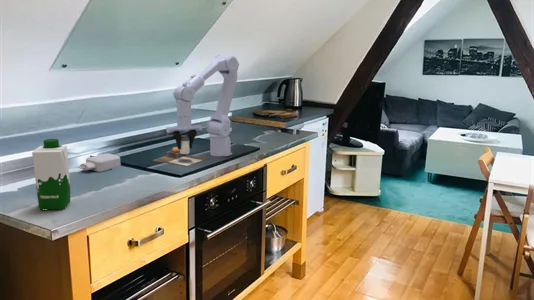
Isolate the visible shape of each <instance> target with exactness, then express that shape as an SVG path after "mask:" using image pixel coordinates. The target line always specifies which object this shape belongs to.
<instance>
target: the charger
mask: <svg viewBox="0 0 534 300" xmlns="http://www.w3.org/2000/svg"><path fill="white" fill-rule="evenodd" d="M121 164H122V163H121V157H120V156H119V155H116V154H114V153H113V154H112V153H109V152H108V153H102V154H97V155H94V156H89V157H87V158H86V159H85V162H84V163H81V164H80V165H79V166H77V169H79V168H80V169H81V170H84V171H90V170H92V171H95V172H99V173H102V172H106V171H110V170H112V169H113V168H116V167H120V166H121Z"/></svg>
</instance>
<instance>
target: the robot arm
mask: <svg viewBox="0 0 534 300" xmlns="http://www.w3.org/2000/svg"><path fill="white" fill-rule="evenodd" d="M239 66H240V63H239V61H238V59H237V57H235V55H220V54H217V55H216V56H215V57H214V58H212V59H211V62H210V63H209V64H208V65H207V66H206V67H205V68H203V70H202V71H200V72H199V74H196V73H194V74H191V75H190V78H188V80H187V81H184V82H182V85H179V86H177V87H175V89H174V91H173V93H172V95H173V97H174V99H175V103H176V125H174V126H167V127H165V130H166V132H165V133H167V134H168V133H169V134H170V133H171V134H172V135H173V138H174V140H175V142H176V143H175V144H176V147H178V149H181V136H182V134H181V133H180V132H187V135H188V136H190V140H189V141H190V149H192V148H193V143H194V140H195V138H196V136H197V133H198V131H202V130H203V125H201V124H197V125H196V124H192V100H193V99H194V98H195V97H194V96H195V94H196V93H197V92H198V91H200V90H201V88H203V86H204V85H205V81H206V80H208V79H209V78H210V77H212V76H213V75H214V74H215V73H217V72H218V73H219V74H221V76H222V78H223V81H222V86H221V90H220V93H219V97H218V102H217V106H216V110H215V113H214V114H213V115H211V116H210V119H209V121H208V122H207V125H206V131H207V133H208V135H209V136H210V138H209V140H210V141H209V143H210V144H209V146H210V147H209V149H210V152H209V154H210V156H213V157H228V156H229V157H230V156H232V155H233V153H232V151H231V150H232V149H231V148H232V147H231V146H232V145H231V144H232V143H231V138H230V136H229V135H230V132H231V122H232V121H231V119H230V118H229V112H230V109H231V104H232V100H233V96H234V93H235V89H236V84H237V81H238V70H239Z"/></svg>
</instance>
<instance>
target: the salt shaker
mask: <svg viewBox="0 0 534 300" xmlns="http://www.w3.org/2000/svg"><path fill="white" fill-rule="evenodd" d="M189 140H190V136H188V134H187V135H186V134H185V135H183V134H181V149H180V154H186V155H190V151H191V150H190V149H191V148H190V141H189Z"/></svg>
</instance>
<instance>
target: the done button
mask: <svg viewBox="0 0 534 300" xmlns="http://www.w3.org/2000/svg"><path fill="white" fill-rule="evenodd" d="M172 150H173V152H174V153H179V152H180V149H178V147H177V146H175V147H172Z"/></svg>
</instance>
